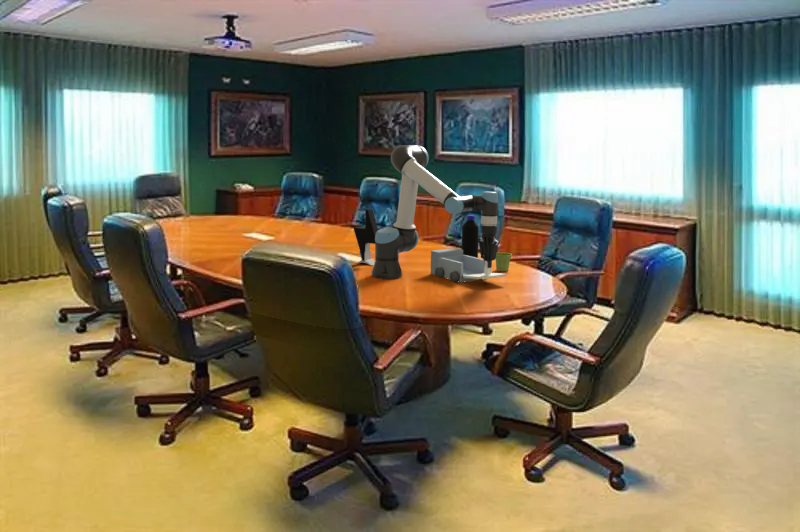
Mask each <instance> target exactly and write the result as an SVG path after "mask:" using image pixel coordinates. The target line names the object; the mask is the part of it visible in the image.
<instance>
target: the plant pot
mask: <svg viewBox="0 0 800 532" xmlns="http://www.w3.org/2000/svg"><path fill="white" fill-rule="evenodd" d="M512 256H513V254H512V253H509V252H497V253H496V258H495V267H496V268H495V269H496V271H498V270H499V271H498V272H508V271H509V268H510V263H511V258H512Z"/></svg>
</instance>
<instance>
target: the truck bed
mask: <svg viewBox="0 0 800 532" xmlns="http://www.w3.org/2000/svg"><path fill="white" fill-rule="evenodd" d="M478 273H484V260H483V259H482V258H481V257H480V258H479V257H478V258H476V257H471V256H467V255H463V250H462V248H457V247H454V248H445V249H444V248H443V249H434V250H430V275H432V274H433V275H432V276H435V277H436V278H437V277H439V278H443V277H445V278H444V279H446V278H448V279H447V280H450V281H451V282H452V281H453V282H452V283H455V282H456V283H460V282H461V283H465V282H464V281H468V282H473V281H472V280H475V281H480V280H479V279H472V278H462V276H463V275H471V274H478ZM457 281H459V282H457Z"/></svg>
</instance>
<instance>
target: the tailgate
mask: <svg viewBox="0 0 800 532" xmlns="http://www.w3.org/2000/svg"><path fill="white" fill-rule="evenodd" d="M507 275H508V274H507V273H500V272H491V274H489V275H485V274H484V273H478V274H471V275H463V276H462V278H472V279H482V280H488V279H494V278H500V277H501V278H502V277H507Z"/></svg>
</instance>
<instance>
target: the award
mask: <svg viewBox="0 0 800 532" xmlns="http://www.w3.org/2000/svg"><path fill="white" fill-rule="evenodd" d="M364 214H365V219H364V226H356V227H355V226H354V227H353V232H354V235H355V239H356V242H357V245H358V247H359V248H358V249H359V252H358V253H359V255H360V259H361V260H360V261H358V262H357V264H358V265H359V264H361V263H365V264H366V265H369V266H371V265H373V266H374V263H375V260H373V259H372V258H371V256H372V253H371V249H370V246H371V245H370V244H372V245H373V244H374V245H375V235H376V232H377V231H378V230H379V228H378V225H377V221H376V217H375V213H374V210H373V208H366V209H365V213H364Z"/></svg>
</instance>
